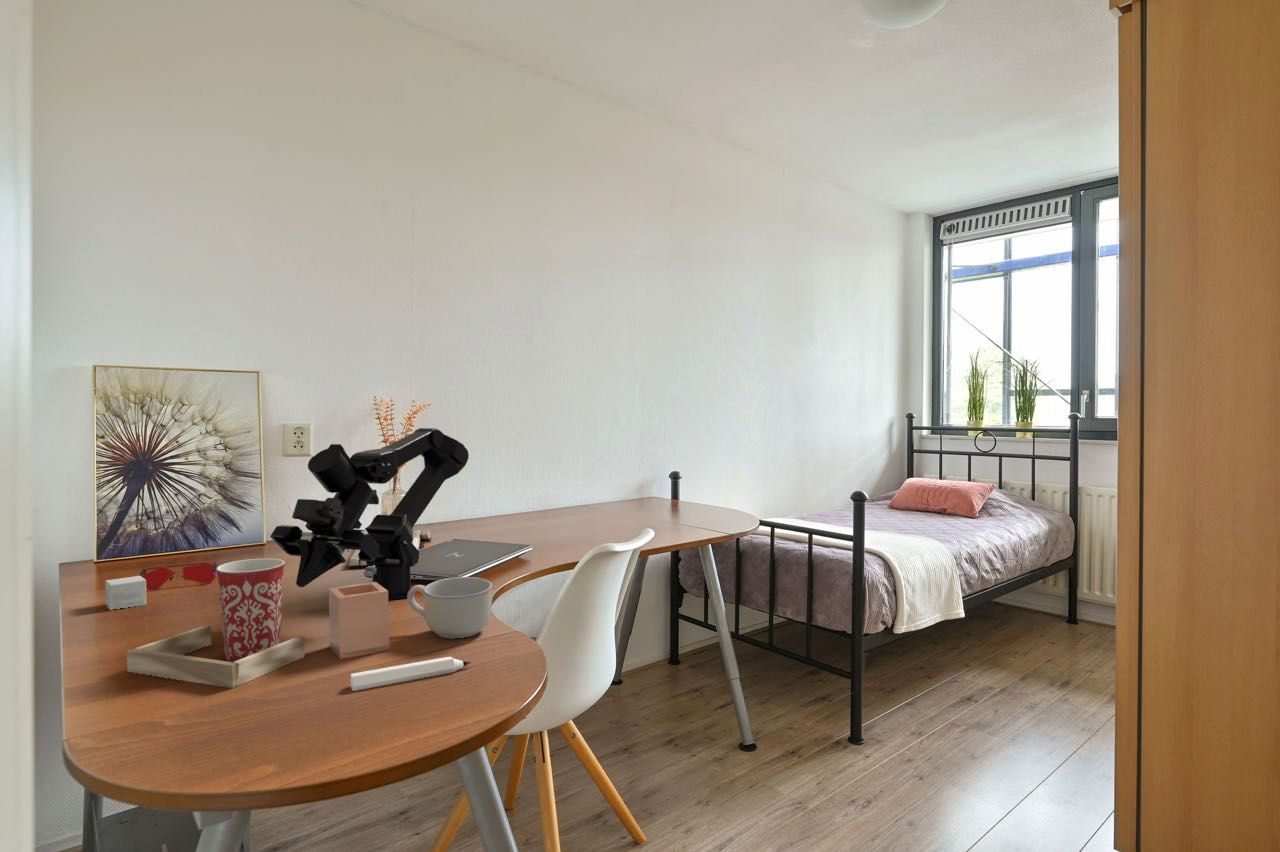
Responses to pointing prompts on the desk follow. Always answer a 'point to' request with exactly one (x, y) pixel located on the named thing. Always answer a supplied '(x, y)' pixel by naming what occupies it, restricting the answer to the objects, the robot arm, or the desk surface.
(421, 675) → the marker
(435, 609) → the teacup
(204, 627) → the bay
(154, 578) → the glasses
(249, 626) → the mug
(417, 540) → the mechanical keyboard
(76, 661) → the desk surface
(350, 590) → the terracotta pot
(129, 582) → the small box
